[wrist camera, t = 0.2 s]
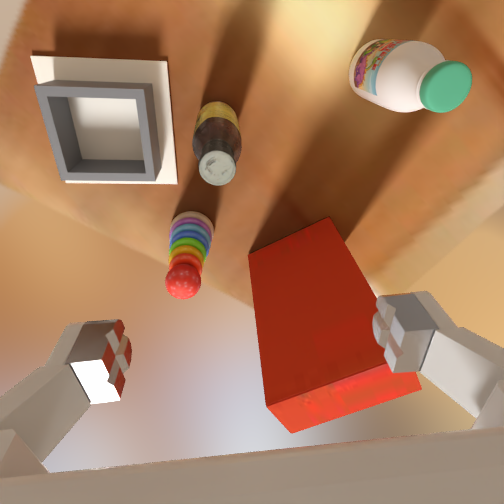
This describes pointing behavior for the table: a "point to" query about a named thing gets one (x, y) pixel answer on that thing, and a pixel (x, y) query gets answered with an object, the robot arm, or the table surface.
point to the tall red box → (318, 331)
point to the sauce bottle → (217, 142)
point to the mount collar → (107, 119)
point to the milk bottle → (408, 76)
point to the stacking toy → (188, 253)
